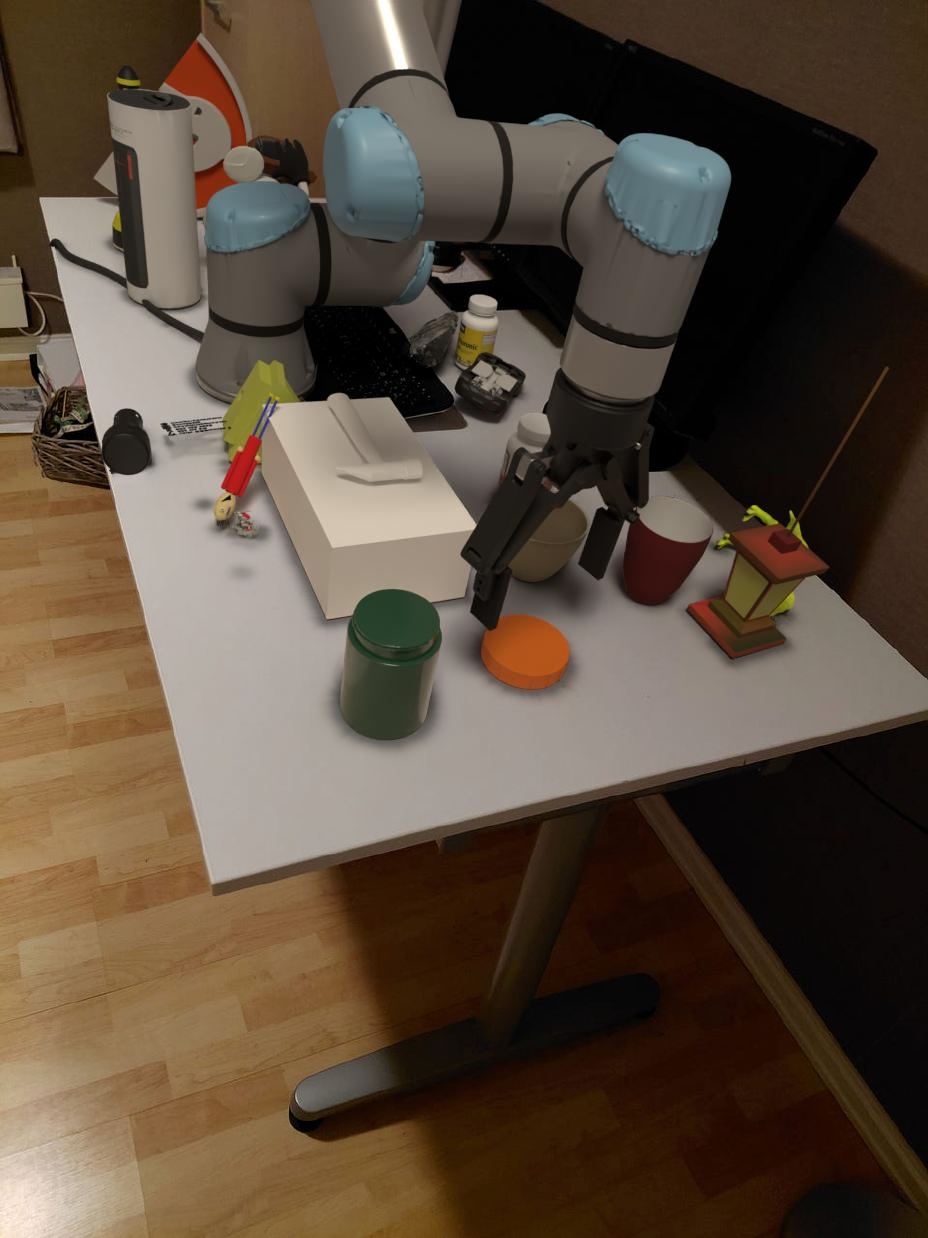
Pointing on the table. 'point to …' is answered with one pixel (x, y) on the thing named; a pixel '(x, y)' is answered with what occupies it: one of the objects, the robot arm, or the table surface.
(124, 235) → the speaker
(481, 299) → the supplement bottle
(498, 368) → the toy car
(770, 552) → the light fixture
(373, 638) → the jar
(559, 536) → the flower pot
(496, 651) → the lid
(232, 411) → the bracket
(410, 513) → the hammer relief block
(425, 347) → the rock
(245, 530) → the figurine
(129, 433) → the flashlight
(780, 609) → the dinosaur figurine
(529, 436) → the pill bottle
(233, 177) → the toy
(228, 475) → the figurine
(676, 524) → the mug
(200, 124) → the wall plaque
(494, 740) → the table surface
